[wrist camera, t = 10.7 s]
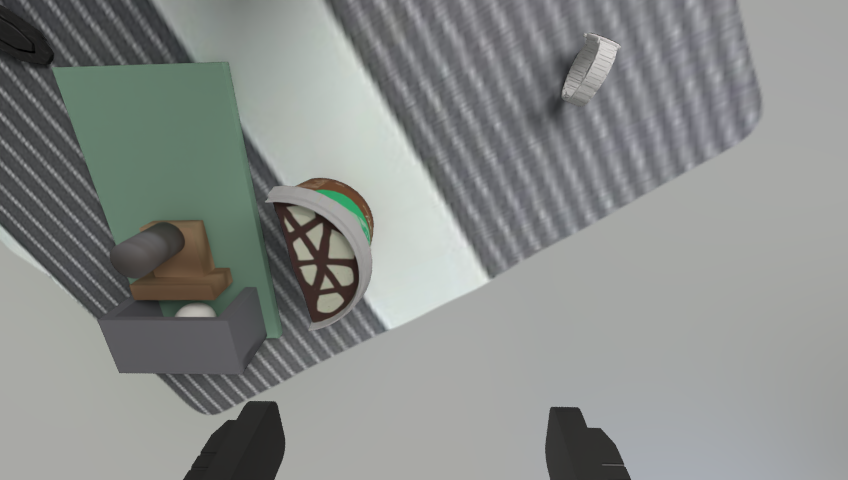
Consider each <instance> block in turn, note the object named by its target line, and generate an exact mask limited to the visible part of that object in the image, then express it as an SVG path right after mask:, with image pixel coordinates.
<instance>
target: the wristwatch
mask: <svg viewBox="0 0 848 480" xmlns="http://www.w3.org/2000/svg"><path fill="white" fill-rule="evenodd" d="M583 37H585V38H587V40H586V44H585V45H584V46H583V47H582V49H581V50H580V52H579V53H578V55H577V58H575V60H574V62H573V64H572V65H573V66H571V68H570V70H569V73H568V75H567V78H566V80H565V81H566V82H565V83H564V86H563V90H562V94H561V97H562V98H563V100H564V101H567V102H569V103H572V104H574V105H577V106H580V107H581V106H582V107H583V106H585V105H586V104H587V103H588V102H589V101H590V99H591V98H592V97H593V96H594V95H595V93H596V92H597V90H598V89H599V88H600V86H601V84H602V83H603V81H604V80H605V78H606V76H607V74H608V73H609V71H610V69H611V66H612V64H613V62H614V59H615V56H616V51H617V50H619V49H620V48H621V46H620V44H618V43H616V42H614V41H612V40H610V39H608V38H605V37H602V36H600V35H597V34H593V33H587V34H586V33H585V34H584V35H583ZM593 60H594V61H593ZM592 62H593V63H592ZM590 63H592V65H591V64H590ZM590 65H591V67H590V69H589V71H588V72H587V74H586V72H585V71H587V70H588V68H589V66H590ZM581 66H582V67H581ZM581 72H582V73H581ZM593 73H594V74H593ZM585 74H586V76H585ZM605 75H606V76H605ZM584 76H585V78H584ZM600 76H601V77H600ZM582 79H583V80H582Z"/></svg>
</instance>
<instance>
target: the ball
mask: <svg viewBox="0 0 848 480" xmlns="http://www.w3.org/2000/svg"><path fill="white" fill-rule="evenodd" d="M175 317H217V315H216V313H215V311H214V310H213V308H212V307H210V306H209V305H207V304H205V303H200V302H195V303H190V304H187V305H185V306H183V307H182V308H181V309H180V310H179V311H178V312H177V313H176V315H175Z"/></svg>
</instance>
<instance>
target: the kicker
mask: <svg viewBox="0 0 848 480" xmlns="http://www.w3.org/2000/svg"><path fill="white" fill-rule="evenodd" d="M139 229H140V233H138V234H136V235H134V236H132V237H131V238H129V239H127V240H125V241H123V242H121V243H120V244H118V245H116V246H114V247H113V248H112V250H111V252H110V260H111V263H112V265H113V266H114V268H115V269H116V270H117V271H118V272H119V273H121V274H122V275H124V276H126V277H129V278H133V279H138V278H139V279H138V280H136V281H135V282H133V283H132V284H130V285H129V287H130V290H131V292H132V295H133V298H134V300H215V299H216V298H217V297H218V296H219V295H220V294H221V293H222V292H223V291H224V290H225V289H226V288H227V287H228V286H229V285H230V284H231V283H232V282H233V279H232V275H231V271H230V268H215V264H214V261H213V257H212V253H211V249H210V245H209V242H208V238H207V234H206V230H205V226H204V222H203V220H161V221H152V222H150V223H148V224H146V225H144V226H142V227H140V228H139Z"/></svg>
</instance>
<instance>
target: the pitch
mask: <svg viewBox="0 0 848 480" xmlns="http://www.w3.org/2000/svg"><path fill="white" fill-rule="evenodd" d="M52 70H53V73H54V75H55V78H56V81H57V84H58V86H59V89H60V92H61V95H62V98H63V100H64V103H65V106H66V109H67V111H68V114H69V117H70V120H71V122H72V125H73V128H74V131H75V133H76V136H77V139H78V142H79V144H80V147H81V150H82V153H83V155H84V158H85V161H86V164H87V166H88V169H89V172H90V175H91V177H92V180H93V183H94V186H95V189H96V191H97V194H98V197H99V200H100V202H101V205H102V208H103V211H104V213H105V216H106V219H107V222H108V224H109V227H110V230H111V233H112V235H113V238H114V241H115V244H116V245H118V244H120V243H121V242H123V241H125V240H127V239H129V238H131V237H132V236H134V235H136V234H138V233H140V229H139V228H140V227H142V226H144V225H146V224H148V223H150V222H152V221H161V220H203V222H204V226H205V230H206V234H207V238H208V242H209V245H210V249H211V253H212V257H213V261H214V264H215V268H230V271H231V275H232V279H233V282H232V283H231V284H230V285H229V286H228V287H227V288H226V289H225V290H224V291H223V292H222V293H221V294H220V295H219V296H218V297H217V298H216V299H215V300H158V301H159V304H160V307H161V310H162V313H163V316H164V317H175V315H176V313H177V312H178V311H179V310H180V309H181V308H182V307H183V306H185V305H187V304H190V303H195V302H200V303H205V304H207V305H209V306H210V307H212V308H213V310H214V311H215V313H216V315H217V317H219V316H220V314H221V313H222V312H223V311H224V310H225V309H226V308H227V307H228V306H229V305H230V303H231V302H232V301H233V300H234V299H235V298H236V297H237V296H238V295H239V293H240V292H241V291H242V290H243V289H244V288H245V287H257V291H258V296H259V300H260V305H261V309H262V314H263V319H264V323H265V328H266V332H267V337H266V338H280V336H281V334H282V333H283V332H282V327H281V322H280V317H279V312H278V307H277V302H276V297H275V293H274V288H273V283H272V278H271V273H270V268H269V263H268V258H267V253H266V248H265V243H264V238H263V233H262V228H261V223H260V218H259V213H258V208H257V203H256V198H255V194H254V189H253V184H252V179H251V174H250V169H249V164H248V159H247V154H246V149H245V144H244V139H243V134H242V129H241V124H240V119H239V114H238V109H237V104H236V99H235V95H234V90H233V85H232V80H231V75H230V70H229V65H228V62H212V63H180V64H149V65H118V66H87V67H55V68H52ZM138 279H139V278H138ZM138 279H133V278H129V277H128V280H129V282H130V284H132V283H133V282H135V281H136V280H138Z"/></svg>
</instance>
